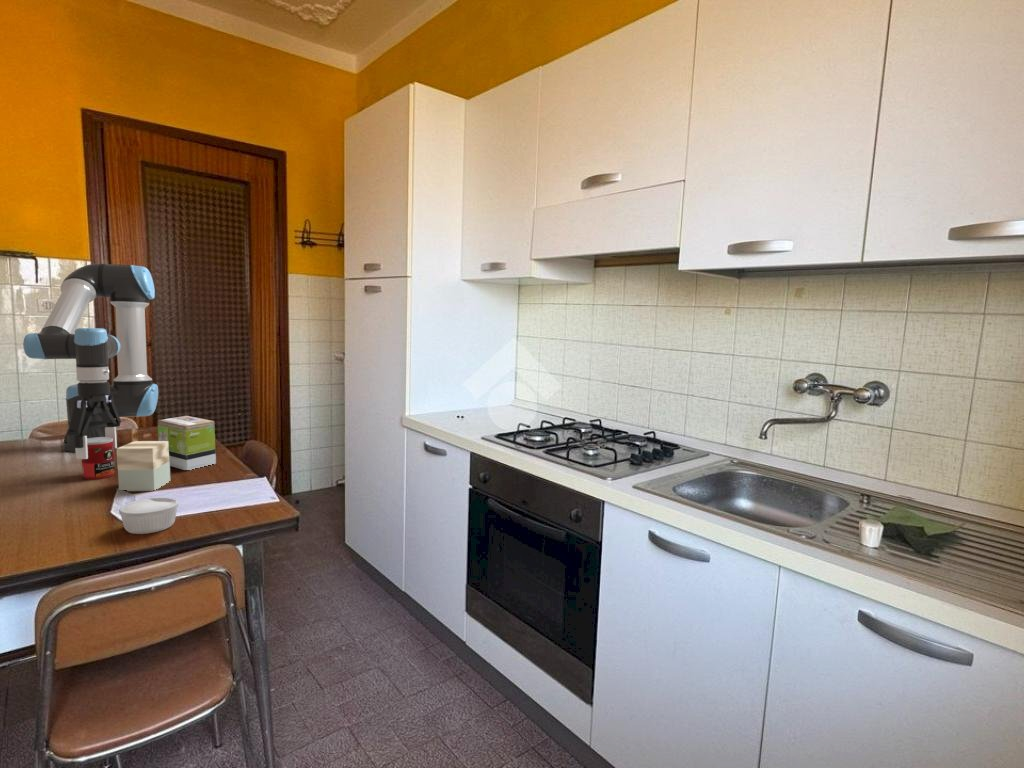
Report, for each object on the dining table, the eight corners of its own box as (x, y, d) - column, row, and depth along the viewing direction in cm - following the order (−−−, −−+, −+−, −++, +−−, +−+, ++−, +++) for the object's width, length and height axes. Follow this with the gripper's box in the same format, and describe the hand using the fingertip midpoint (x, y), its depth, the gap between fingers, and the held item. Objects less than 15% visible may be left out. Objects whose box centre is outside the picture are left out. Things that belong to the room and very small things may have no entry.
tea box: (158, 464, 177) (156, 419, 175) (188, 458, 186) (187, 414, 184) (186, 471, 170) (184, 424, 168) (217, 464, 179) (215, 419, 177)
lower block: (137, 481, 159) (136, 461, 158) (170, 481, 160) (169, 461, 159) (119, 491, 150) (117, 470, 149) (154, 491, 151) (153, 469, 150)
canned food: (98, 480, 158) (96, 443, 157) (75, 478, 160) (73, 441, 159) (122, 473, 166) (120, 437, 165) (100, 471, 167) (97, 436, 166)
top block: (135, 461, 158) (134, 441, 157) (169, 461, 159) (168, 441, 159) (117, 470, 149) (116, 448, 149) (153, 469, 151) (152, 448, 150)
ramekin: (188, 518, 132) (188, 497, 131) (160, 537, 121) (159, 513, 120) (141, 517, 132) (140, 496, 131) (108, 536, 121) (107, 512, 120)
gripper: (78, 386, 148) (83, 463, 150) (132, 377, 172) (135, 444, 174) (48, 385, 147) (53, 463, 149) (106, 377, 171) (109, 444, 174)
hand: (97, 453), depth 162 cm, fingers open, 13 cm apart
